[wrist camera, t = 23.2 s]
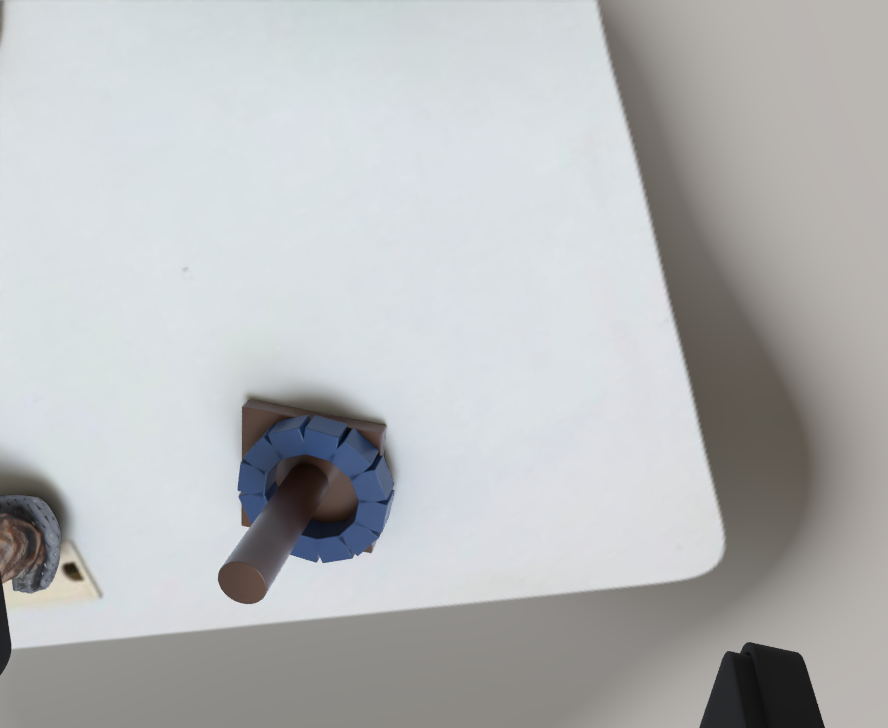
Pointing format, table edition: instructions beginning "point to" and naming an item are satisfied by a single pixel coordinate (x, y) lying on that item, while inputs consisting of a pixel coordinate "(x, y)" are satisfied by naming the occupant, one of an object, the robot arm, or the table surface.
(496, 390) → the table surface
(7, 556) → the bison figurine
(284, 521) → the stand
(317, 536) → the ring
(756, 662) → the robot arm
